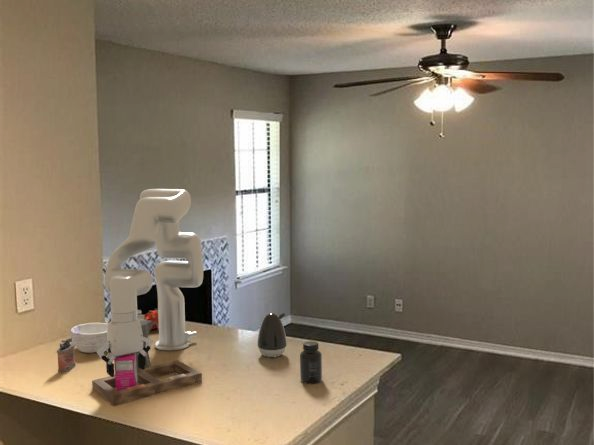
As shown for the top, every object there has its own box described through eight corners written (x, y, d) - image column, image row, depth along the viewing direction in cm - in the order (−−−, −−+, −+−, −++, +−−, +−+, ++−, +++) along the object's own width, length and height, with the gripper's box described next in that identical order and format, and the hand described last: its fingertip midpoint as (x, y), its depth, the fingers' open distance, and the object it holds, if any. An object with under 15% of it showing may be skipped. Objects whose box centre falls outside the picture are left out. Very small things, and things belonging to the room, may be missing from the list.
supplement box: (118, 388, 200) (117, 351, 198) (138, 387, 200) (137, 351, 199) (115, 395, 194) (113, 358, 192) (135, 394, 194) (134, 357, 193)
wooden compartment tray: (177, 368, 216) (177, 358, 216) (201, 382, 204) (201, 371, 204) (92, 390, 198) (91, 379, 198) (113, 406, 186) (113, 394, 186)
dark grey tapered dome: (292, 356, 228) (292, 313, 226) (267, 362, 223) (267, 318, 221) (277, 348, 237) (276, 307, 235) (252, 354, 231) (251, 312, 229)
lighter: (64, 373, 212) (63, 343, 211) (55, 373, 213) (53, 343, 212) (77, 365, 220) (76, 336, 219) (68, 364, 221) (67, 335, 219)
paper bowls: (122, 349, 236) (121, 328, 235) (81, 358, 227) (80, 336, 226) (104, 339, 248) (103, 319, 247) (64, 348, 238) (63, 327, 237)
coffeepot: (154, 359, 225) (153, 308, 223) (158, 368, 217) (157, 315, 214) (108, 365, 220) (106, 313, 218) (110, 374, 211) (108, 320, 209)
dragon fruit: (169, 328, 267) (146, 340, 258) (156, 314, 270) (133, 325, 261) (175, 315, 263) (152, 326, 254) (162, 301, 266) (138, 311, 257)
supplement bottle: (324, 377, 208) (324, 341, 206) (318, 385, 201) (318, 347, 200) (304, 375, 210) (304, 339, 208) (297, 382, 204) (297, 345, 202)
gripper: (145, 309, 202) (147, 362, 204) (91, 318, 191) (93, 375, 194) (156, 314, 196) (158, 368, 199) (101, 324, 186) (103, 382, 188)
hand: (126, 371), depth 196 cm, fingers open, 9 cm apart
